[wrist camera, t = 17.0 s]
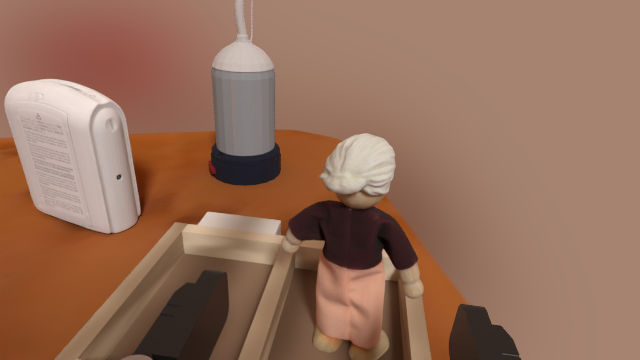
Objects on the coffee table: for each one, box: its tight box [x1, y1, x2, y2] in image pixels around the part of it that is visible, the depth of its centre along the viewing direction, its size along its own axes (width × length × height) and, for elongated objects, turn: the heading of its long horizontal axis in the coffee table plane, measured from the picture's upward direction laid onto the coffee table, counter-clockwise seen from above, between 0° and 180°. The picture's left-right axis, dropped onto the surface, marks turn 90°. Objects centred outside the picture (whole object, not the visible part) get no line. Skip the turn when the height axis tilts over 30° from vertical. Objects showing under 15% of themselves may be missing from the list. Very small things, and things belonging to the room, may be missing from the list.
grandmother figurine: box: [281, 133, 424, 360], centre depth 20 cm, size 8×4×13 cm, turn 78°
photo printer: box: [5, 79, 141, 234], centre depth 33 cm, size 10×4×12 cm, turn 68°
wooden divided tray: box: [54, 212, 431, 360], centre depth 24 cm, size 18×16×4 cm
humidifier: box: [209, 0, 281, 185], centre depth 41 cm, size 8×8×25 cm
